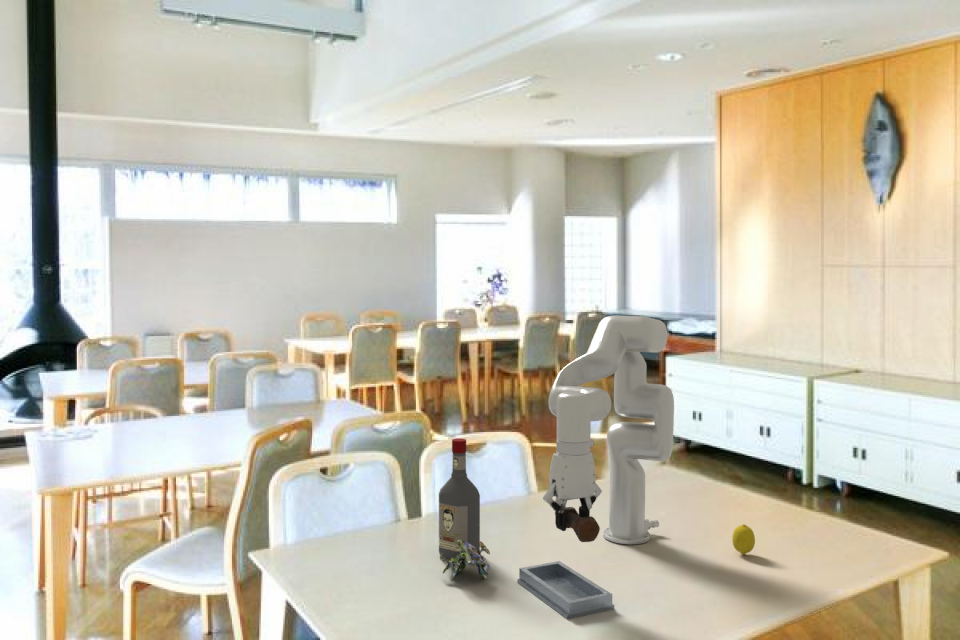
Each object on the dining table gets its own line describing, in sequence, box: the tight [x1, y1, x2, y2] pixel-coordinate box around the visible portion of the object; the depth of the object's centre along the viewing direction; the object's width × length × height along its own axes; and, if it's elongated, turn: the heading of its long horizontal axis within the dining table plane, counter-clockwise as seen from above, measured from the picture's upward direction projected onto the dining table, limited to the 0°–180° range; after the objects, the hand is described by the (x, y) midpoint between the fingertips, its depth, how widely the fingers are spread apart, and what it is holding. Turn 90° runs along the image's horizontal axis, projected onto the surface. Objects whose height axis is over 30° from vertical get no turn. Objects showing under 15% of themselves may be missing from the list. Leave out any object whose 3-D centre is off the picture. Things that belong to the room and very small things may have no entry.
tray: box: [516, 560, 615, 620], centre depth 186 cm, size 12×22×3 cm, turn 26°
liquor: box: [438, 437, 481, 561], centre depth 210 cm, size 9×9×30 cm
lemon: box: [731, 523, 756, 556], centre depth 211 cm, size 6×6×8 cm
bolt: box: [554, 506, 601, 543], centre depth 185 cm, size 6×5×15 cm
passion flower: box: [439, 540, 491, 582], centre depth 195 cm, size 11×11×12 cm
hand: (572, 526), depth 185 cm, fingers closed on bolt, 5 cm apart
